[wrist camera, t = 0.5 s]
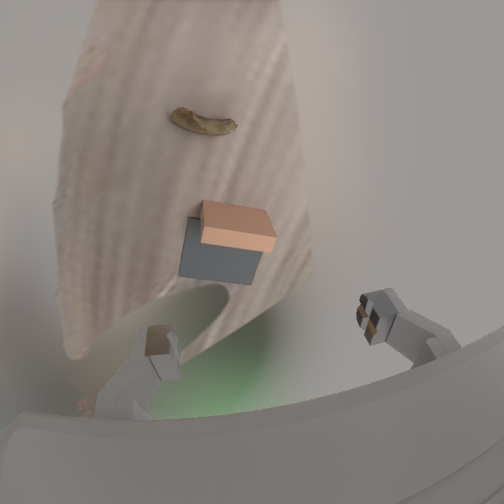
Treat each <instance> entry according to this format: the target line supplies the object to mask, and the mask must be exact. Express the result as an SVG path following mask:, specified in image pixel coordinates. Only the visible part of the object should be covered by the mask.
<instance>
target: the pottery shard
mask: <svg viewBox="0 0 504 504" xmlns="http://www.w3.org/2000/svg"><path fill="white" fill-rule="evenodd" d="M170 119H171V120H172V121H173V122H174V123H176V124H177V125H179V126H180V127H182V128H185V129H187V130H190V131H193V132H197V133H200V134H207V135H225V134H228V133H230V132H231V131H235V129H236V128H237V126H238V125H236V124H235V121H233V120H232V119H222V120H212V119H207V118H204V117H201V116H199V115H197V114H195V113H194V112H192V111H189V110H187V109H185V108H178V109H176V110H174V111H173V114H172V115H171V117H170Z"/></svg>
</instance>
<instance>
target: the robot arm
mask: <svg viewBox="0 0 504 504" xmlns="http://www.w3.org/2000/svg"><path fill="white" fill-rule="evenodd" d="M359 301H360V303H361V304H360V306H359V307H358V308H357V312H356V317H357V321H358V324H359V326H360V328H362V329H364V330H365V334H364V336H365V337H366V339H367V341H368V343H369V345H374V344H378V343H382V342H386V343H387V344H389V345H390V346H391V347H393V348H394V349H395V350H397V351H398V352H400V353H401V354H402V355H404V356H405V357H406V358H408V359H409V360H411V361H412V362H413V363H414V364H413V366H412V367H411V369H410V370H408V371H405V372H402V373H400V374H397V375H394V376H391V377H388V378H386V379H382V380H380V381H376V382H373V383H370V384H367V385H363V386H360V387H357V388H354V389H350V390H347V391H343V392H340V393H335V394H332V395H328V396H324V397H320V398H316V399H311V400H307V401H303V402H298V403H293V404H288V405H283V406H278V407H273V408H267V409H262V410H255V411H249V412H242V413H235V414H227V415H218V416H209V417H198V418H185V419H167V420H151V419H150V418H149V417H148V416H147V414H146V413H145V412H144V410H145V409H146V407H147V405H148V404H149V402H150V401H151V399H152V397H153V396H154V394H155V392H156V391H157V389H158V388H159V386H160V384H161V381H170V380H179V379H181V374H180V373H181V371H180V370H181V367H180V364H179V359H180V345H179V341H178V338H177V337H176V336H175V330H174V327H173V325H172V324H167V325H153V326H142V327H137V329H136V334H135V340H134V347H133V354H132V357H130V358H128V359H127V360H126V362H125V363H124V364H123V365H122V366H121V367H120V369H119V370H118V371H117V372H116V373H115V374H114V376H113V377H112V378H111V379H110V380H109V381H108V383H107V384H106V385H105V386H104V387H103V388H102V390H101V391H100V392H99V393H98V396H97V403H96V409H95V417H94V419H87V418H74V417H64V416H55V415H47V414H40V413H34V412H24V413H23V414H21V415H20V416H19V417H18V418H16V420H14V421H13V422H12V423H11V424H10V426H9V427H8V428H7V429H6V430H5V431H4V432H3V434H2V436H1V438H0V504H504V326H503V327H501V328H499V329H498V330H496V331H494V332H492V333H490V334H488V335H486V336H484V337H482V338H481V339H479V340H477V341H475V342H473V343H471V344H468V345H467V346H464V347H461V346H460V344H459V343H458V341H457V340H456V339H455V337H454V336H453V334H452V333H451V332H450V330H448V329H446V328H445V327H443V326H441V325H439V324H437V323H435V322H433V321H431V320H429V319H427V318H425V317H423V316H421V315H420V314H418V313H416V312H414V311H412V310H410V311H408V309H407V308H406V306H405V305H404V304H403V302H402V301H401V300H400V298H399V297H398V295H397V294H396V293H395V291H394V290H393V289H392V288H387V289H383V290H378V291H374V292H369V293H365V294H362V295H361V296H360V300H359Z"/></svg>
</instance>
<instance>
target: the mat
mask: <svg viewBox="0 0 504 504" xmlns="http://www.w3.org/2000/svg"><path fill="white" fill-rule="evenodd" d="M261 255H262V251H255V250H248V249H241V248H234V247H227V246H220V245H213V244H206V243H201V230H200V219H196V218H189V219H188V225H187V230H186V236H185V241H184V247H183V253H182V259H181V265H180V271H179V277H187V278H195V279H203V280H211V281H219V282H228V283H237V284H246V285H251V284H252V281H253V278H254V275H255V272H256V269H257V266H258V264H259V261H260V258H261Z"/></svg>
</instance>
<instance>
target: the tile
mask: <svg viewBox="0 0 504 504" xmlns="http://www.w3.org/2000/svg"><path fill="white" fill-rule="evenodd" d="M200 230H201V243H206V244H213V245H220V246H227V247H234V248H241V249H248V250H255V251H262V252H268V253H272V252H273V249H274V246H275V244H276V241H277V236H276V233H275V231H274V229H273V226H272V224H271V222H270V220H269V217H268V215H267V213H266V211H264V210H259V209H253V208H248V207H242V206H237V205H231V204H225V203H219V202H213V201H207V200H203V204H202V208H201V213H200Z"/></svg>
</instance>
